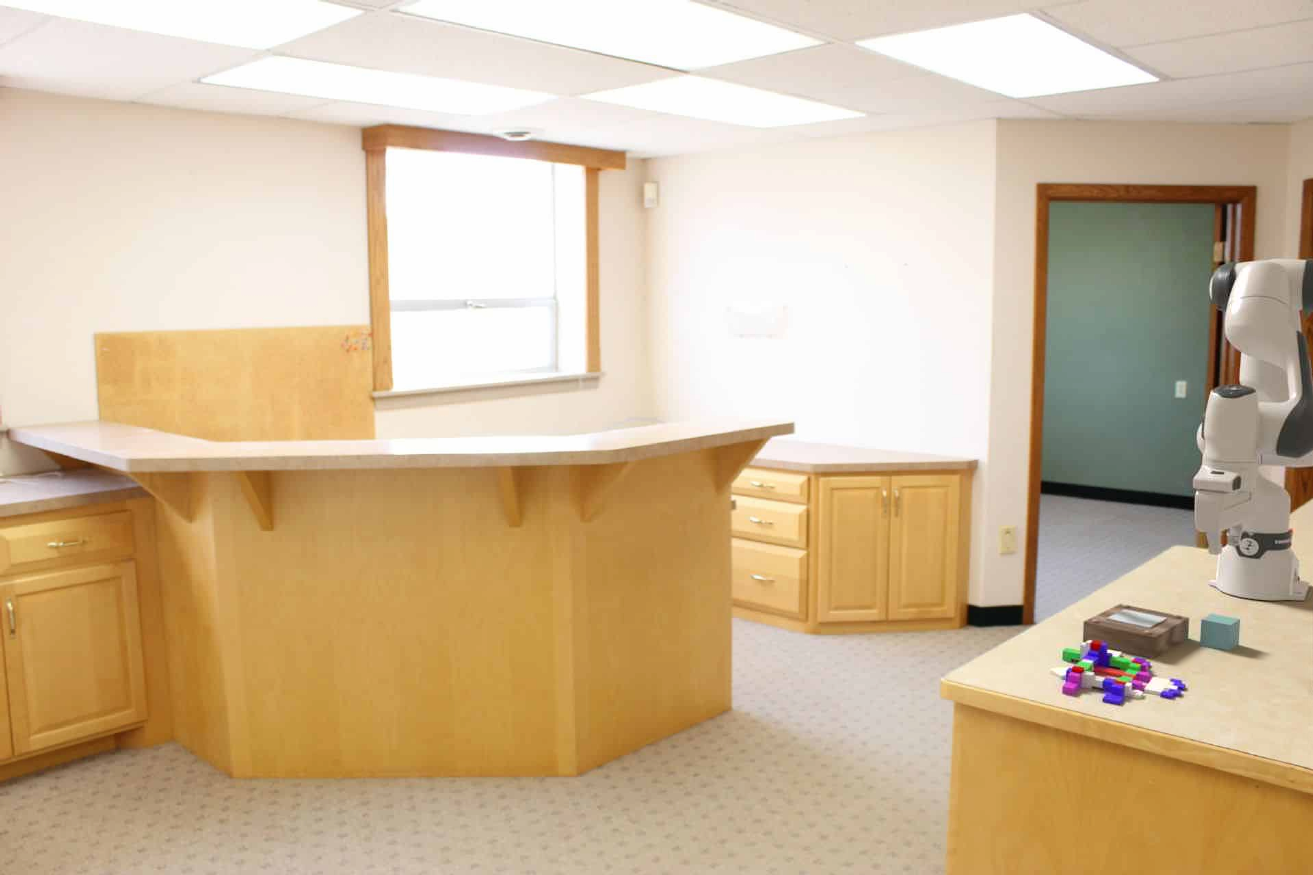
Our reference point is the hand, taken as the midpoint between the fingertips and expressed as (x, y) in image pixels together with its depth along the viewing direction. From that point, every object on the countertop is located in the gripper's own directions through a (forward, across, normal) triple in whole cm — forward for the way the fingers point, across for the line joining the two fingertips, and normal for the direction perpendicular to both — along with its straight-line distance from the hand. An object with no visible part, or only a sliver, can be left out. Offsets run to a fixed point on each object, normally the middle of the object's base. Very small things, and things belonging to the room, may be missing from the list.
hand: (1224, 549), depth 192 cm
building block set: (+19, +30, -6) cm, 36 cm away
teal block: (+18, 0, 0) cm, 18 cm away
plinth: (+18, +8, -12) cm, 23 cm away
